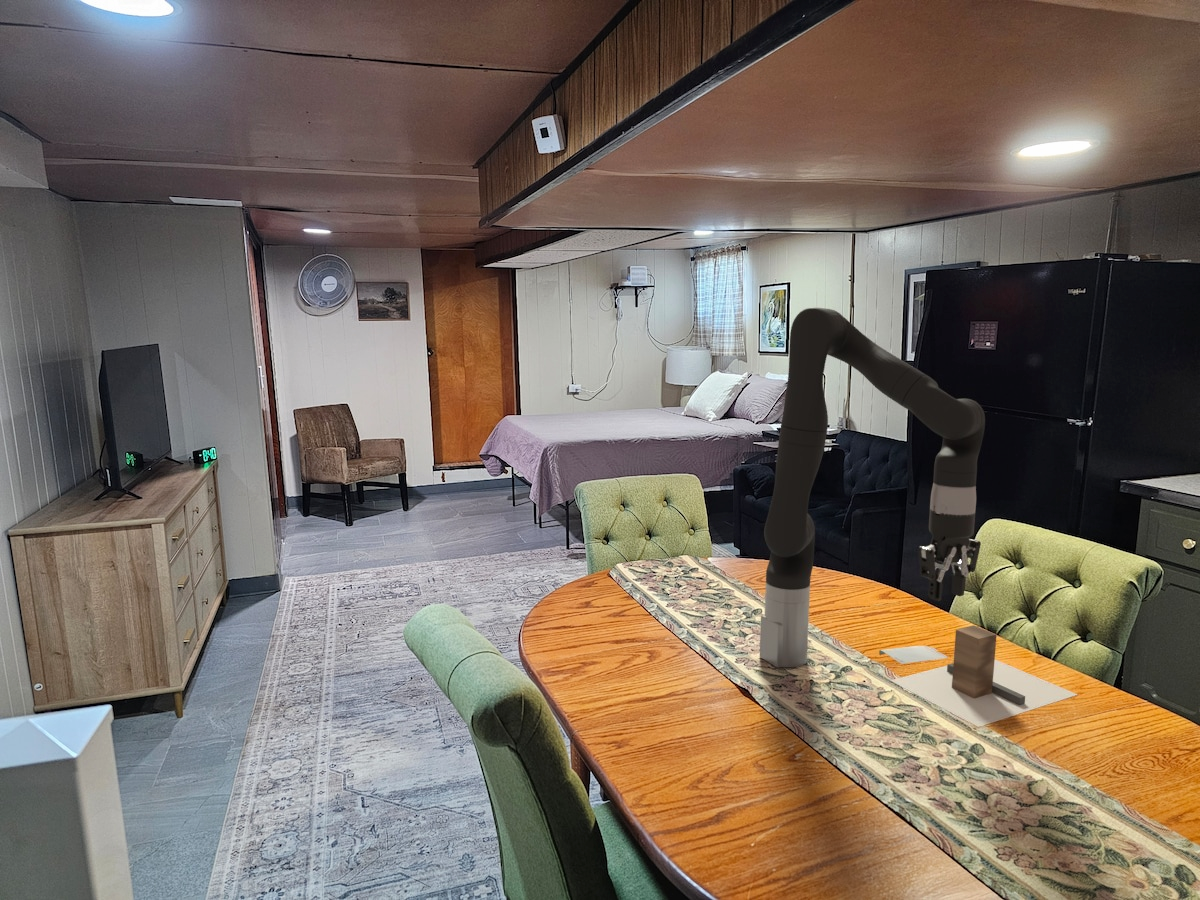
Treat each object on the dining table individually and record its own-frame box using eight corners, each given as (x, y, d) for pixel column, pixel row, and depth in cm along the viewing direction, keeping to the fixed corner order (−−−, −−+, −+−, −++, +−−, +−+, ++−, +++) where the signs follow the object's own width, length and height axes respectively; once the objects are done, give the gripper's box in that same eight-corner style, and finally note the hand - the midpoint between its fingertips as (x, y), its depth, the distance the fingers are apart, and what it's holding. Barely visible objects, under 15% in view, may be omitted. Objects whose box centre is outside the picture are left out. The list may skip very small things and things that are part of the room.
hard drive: (903, 665, 156) (953, 658, 159) (879, 649, 164) (927, 643, 167) (902, 672, 156) (952, 665, 159) (878, 656, 164) (926, 650, 167)
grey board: (977, 732, 131) (978, 718, 131) (890, 685, 149) (890, 673, 149) (1077, 699, 143) (1078, 687, 143) (984, 659, 161) (985, 648, 160)
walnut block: (974, 698, 141) (978, 638, 139) (951, 687, 146) (955, 629, 144) (991, 693, 143) (996, 634, 142) (969, 682, 148) (973, 625, 146)
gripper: (962, 500, 142) (955, 585, 144) (907, 508, 136) (902, 596, 138) (997, 508, 135) (990, 597, 137) (942, 516, 129) (935, 609, 131)
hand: (946, 596), depth 138 cm, fingers open, 5 cm apart
